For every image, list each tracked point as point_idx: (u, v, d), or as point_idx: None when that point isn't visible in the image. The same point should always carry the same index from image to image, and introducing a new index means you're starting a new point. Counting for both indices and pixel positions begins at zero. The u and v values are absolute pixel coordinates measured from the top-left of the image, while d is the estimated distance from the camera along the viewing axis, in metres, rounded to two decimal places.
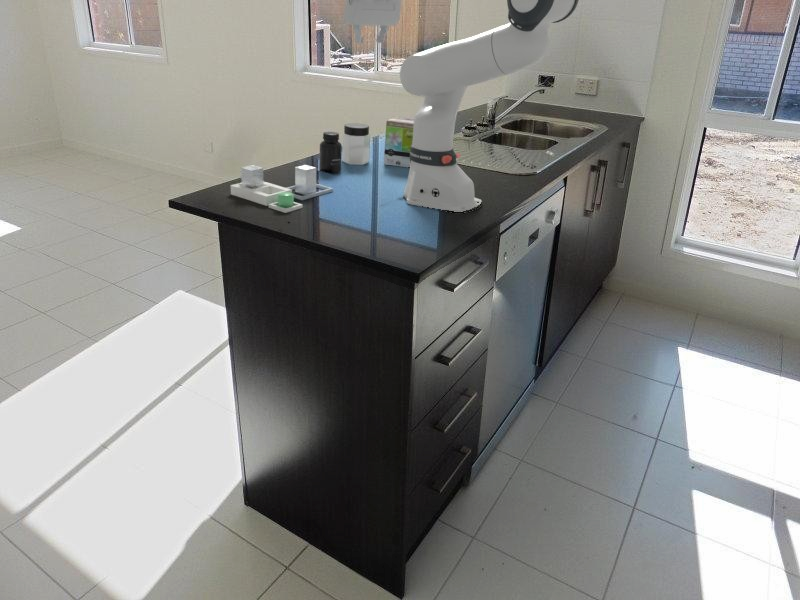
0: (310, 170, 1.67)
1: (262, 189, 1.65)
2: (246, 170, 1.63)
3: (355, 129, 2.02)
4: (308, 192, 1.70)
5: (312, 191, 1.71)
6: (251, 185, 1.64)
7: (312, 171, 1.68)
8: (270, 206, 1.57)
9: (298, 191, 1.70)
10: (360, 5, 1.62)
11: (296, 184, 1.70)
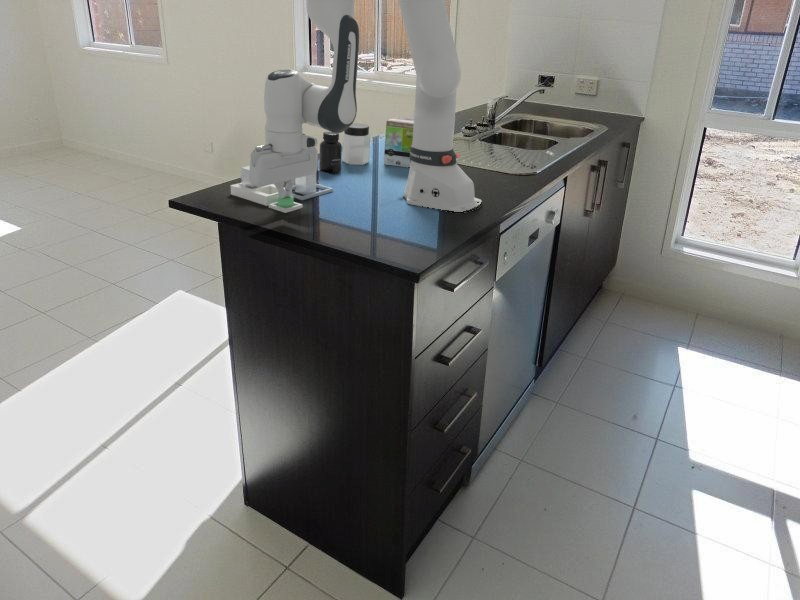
0: None
1: (262, 189, 1.65)
2: (246, 170, 1.63)
3: (355, 129, 2.02)
4: (308, 192, 1.70)
5: (312, 191, 1.71)
6: (251, 185, 1.64)
7: None
8: (270, 206, 1.57)
9: (298, 191, 1.70)
10: (265, 165, 1.47)
11: (296, 184, 1.70)
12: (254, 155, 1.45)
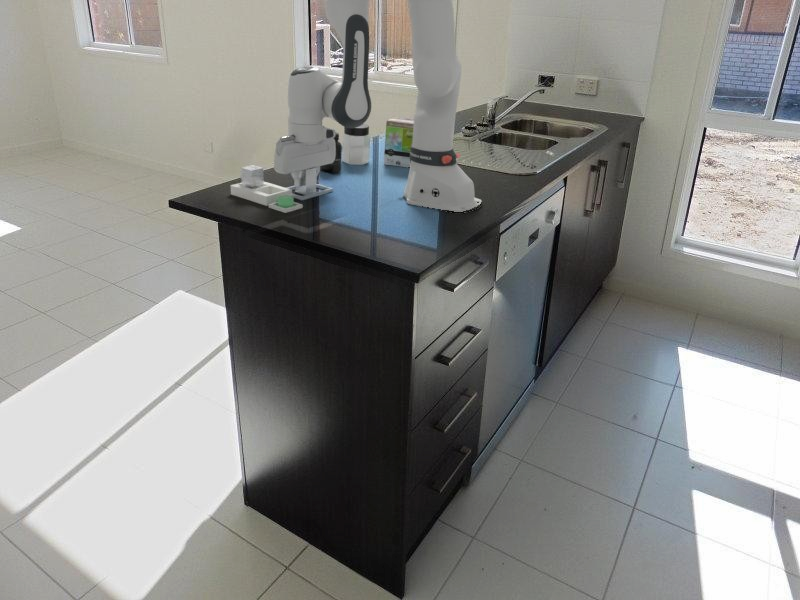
0: (310, 170, 1.67)
1: (262, 189, 1.65)
2: (246, 170, 1.63)
3: (355, 129, 2.02)
4: (308, 192, 1.70)
5: (312, 191, 1.71)
6: (251, 185, 1.64)
7: (312, 171, 1.68)
8: (270, 206, 1.57)
9: (298, 191, 1.70)
10: (289, 154, 1.60)
11: None
12: (279, 145, 1.58)
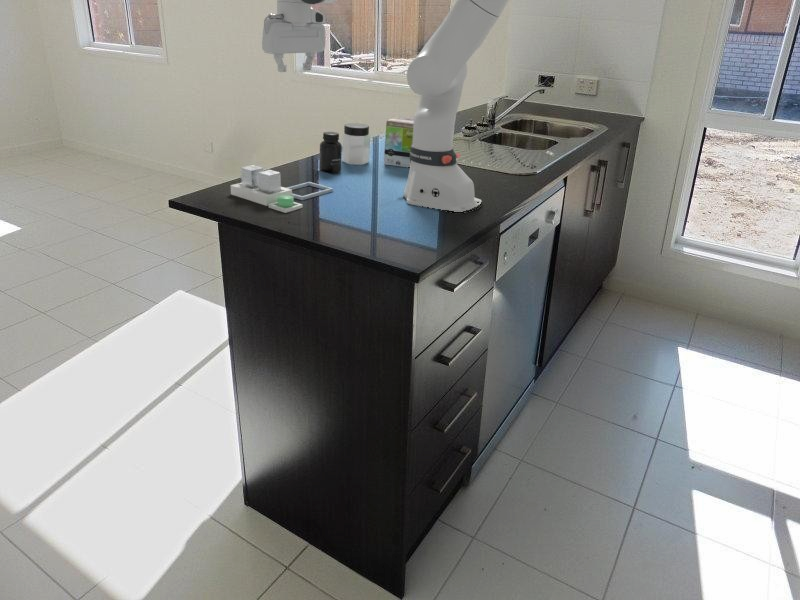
0: (273, 175, 1.60)
1: None
2: (246, 170, 1.63)
3: (355, 129, 2.02)
4: None
5: None
6: (251, 185, 1.64)
7: (276, 176, 1.61)
8: (270, 206, 1.57)
9: None
10: (277, 33, 1.58)
11: (260, 190, 1.62)
12: (267, 22, 1.56)
